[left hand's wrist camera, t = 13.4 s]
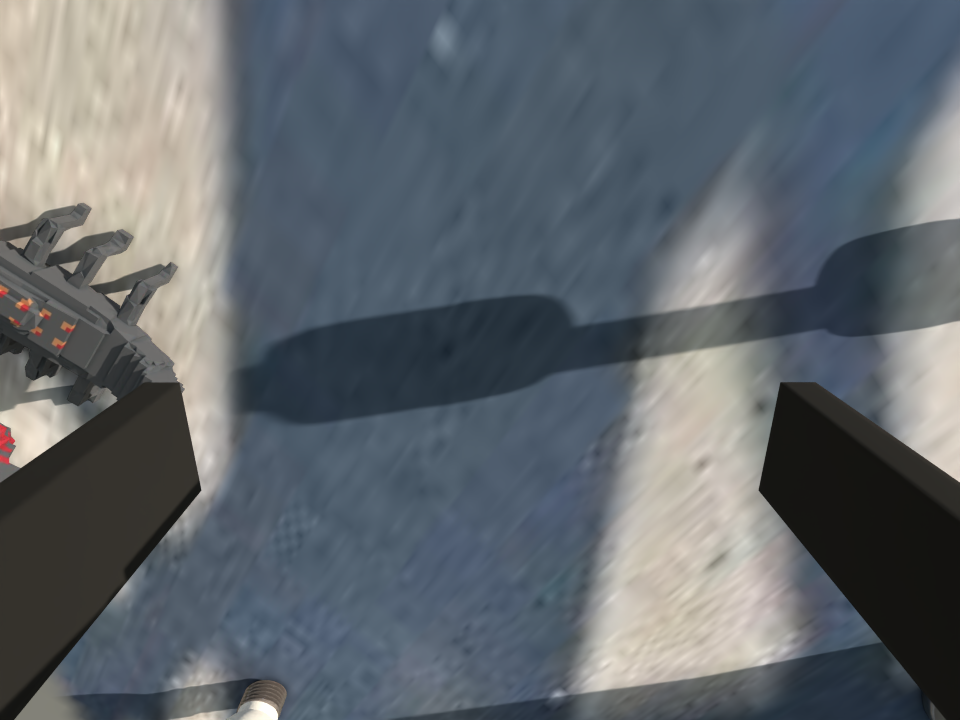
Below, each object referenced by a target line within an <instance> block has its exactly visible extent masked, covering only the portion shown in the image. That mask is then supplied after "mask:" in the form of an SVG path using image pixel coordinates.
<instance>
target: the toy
mask: <svg viewBox="0 0 960 720" xmlns="http://www.w3.org/2000/svg"><path fill="white" fill-rule="evenodd" d="M91 209H92V208H90V207H89V206H87V205H86V204H84V203H80V204H78V205H77V206H76V208H75V209H74V211H73V212H72V213H71V214H70V215H65V216H60V217H55V218H49V219H42V221H41V222H40V224H39V225H38V227H37V228H36V230H35V231H34V233H33V235H32V237H31V238H30V240H29V242H28V243H27V245H26V247H25V249H24V250H23V249H21V248H17V247H15V246H14V245H12V244H11V243H9V242H5V241H0V355H2V354H4V353H6V352H12V353H13V354H18V353H21V352H22V349H23V347H24V346H26V347H27V348H29V349H31V351H30V352H29V360H28V362H27V364H26V366H25V371H26V376H27V377H28V378H30V379H32V380H33V381H34V380H36V379H38V378H40V377H42V376H44V375H47V376H49V377H50V378H51V377H53V376H55V375H57V374H58V372H59V370H60V368H61V366H63V367H65V368H66V369H68V370H70V371H71V372H73V373H75V374H77V375H78V376H79V377H78V378H77V380H76V382H75V384H74V386H73V388H72V390H71V392H70V394H69V396H68V398H67V400H68V401H70V402H72V403H73V404H75V405H77V406H79V405H81V404H82V403H84V402H85V401H86V400H89V401H91V402H92V403H94V402H96V401H97V400H99V399H100V397H101V395H102V394H103V392H104V390H105V388H106V387H107V388H108V389H110V390H111V391H112V394H113V395H114V396H116V397H117V400H120V399H121V398H123V397H124V396H126V395H127V394H128V393H130V392H131V391H133V390H134V389H136V388H137V387H139V386H140V385H141V384H143V383H144V382H178V381H176V380H177V379H178V378H176V377H175V375H176V374H175V373H174V372H173V369H172V367H173V365H174V362H173V361H172V360H171V359H170V358H169V357H168V356H167V355H166V354H165V353H163V352H162V351H161V350H160V349H159V348H158V347H157V346H156V345H155V344H154V343H152V341H151V338H150V337H149V336H148V335H147V334H146V333H145V332H144V331H143V330H142V329H141V328H139V327H138V326H137V325H136V324H137V322H138V320H139V318H140V316H141V314H142V312H143V310H144V308H145V306H146V305H147V303H148V302H149V300H150V299H151V298H152V296H153V295H154V293H155V292H156V290H157V288H159V287H160V286H162V285H164V284H167V283H169V281H170V280H171V278H172V276H173V275H174V273H175V271H176V270H177V268H178V266H176V265H175V264H173V263H172V262H170V263H169V264H168V265H167V266H166V267H165V268H164V269H163V270H162V271H161V272H160V273H159V274H157V275H155V276H153V277H150V278H148V279H145V280H143V279H140V280H138V281H137V282H136V284H135V285H134V287H133V289H132V291H131V293H130V294H129V295H127V296H126V298H125V300H124V302H123V304H122V306H121V308H120V305H118V304H117V303H115V302H114V301H112V300H111V299H110V298H108V297H107V296H105V295H104V294H102V293H97V292H96V291H95V290H93V289H92V288H91V287H90V286H89V285H88V284H89V283H90V282H91V281H92V280H93V278H94V276H95V275H96V273H97V272H98V270H99V269H100V267H101V266H102V264H103V263H104V261H105V260H106V258H107V257H108V256H111V255H116V254H120V253H122V252H124V251H125V250H127V248H128V246H129V244H130V243H131V241H132V239H133V236H132V235H130V234H129V233H127V232H126V231H124V230H123V229H121V230H117V232H116V233H115V234H114V236H113V237H112V238H111V239H110V241H108V242H107V243H105V244H104V245H100V246H97V247H93V248H91V249H89V250H88V251H86V252H85V253H84V255H83V257H82V259H81V261H80V262H79V264H78V266H77V268H76V269H75V271H74V273H73V274H71V273H70V272H68V271H67V270H65V269H64V268H62V267H61V266H59V265H56V266H52V267H51V266H49V265H48V264H46V260H47V258H48V256H49V254H50V252H51V250H52V249H53V248H54V246H55V245H56V244H57V242H58V240H59V239H60V237H61V236H62V234H63V232H64V231H66V230H68V229H70V228H73V227H77V226H81V225H83V224H84V222H85V220H86V218H87V216H88V214H89V212H90V210H91ZM182 386H183V384H181V383H180V387H181V392H183V391H184V388H183V387H182ZM14 442H15V440H14V439H13V438H12V437H11V428H9V427H6V426H4V425H3V424H1V423H0V482H2V481H3V480H5V479H6V478H8V477H9V476H10V475H12V474H13V473H15V472H16V471H18V470H19V469H20V468H19V467H17V466H15V465H12V464H10V463H9V457H10V455H11V454H12V452H13V450H14V449H15V447H16V446H15V445H13V443H14Z"/></svg>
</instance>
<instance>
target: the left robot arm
mask: <svg viewBox="0 0 960 720" xmlns="http://www.w3.org/2000/svg"><path fill="white" fill-rule="evenodd" d="M200 491H201V486H200V481H199V476H198V471H197V466H196V461H195V456H194V451H193V446H192V442H191V437H190V432H189V427H188V422H187V417H186V412H185V407H184V402H183V397H182V392H181V387H180V382H144V383H143V384H141V385H140V386H139V387H137V388H136V389H134V390H133V391H131V392H130V393H128V394H127V395H126V396H124V397H123V398H121V399H120V400H118V401H117V402H115V403H114V404H113V405H111V406H110V407H108V408H107V409H105V410H104V411H103V412H101V413H100V414H98V415H97V416H95V417H94V418H92V419H91V420H90V421H88V422H87V423H85V424H84V425H82V426H81V427H79V428H78V429H77V430H75V431H74V432H72V433H71V434H69V435H68V436H67V437H65V438H64V439H62V440H61V441H59V442H58V443H56V444H55V445H54V446H52V447H51V448H49V449H48V450H46V451H45V452H44V453H42V454H41V455H39V456H38V457H36V458H35V459H33V460H32V461H31V462H29V463H28V464H26V465H25V466H23V467H22V468H20V469H19V470H18V471H16V472H15V473H13V474H12V475H10V476H9V477H8V478H6V479H5V480H3V481H2V482H0V720H14V719H15V718H16V717H17V715H18V714H19V713H20V712H21V711H22V709H23V708H24V707H25V706H26V704H27V703H28V702H29V701H30V700H31V698H32V697H33V696H34V695H35V693H36V692H37V691H38V690H39V689H40V687H41V686H42V685H43V684H44V682H45V681H46V680H47V679H48V678H49V676H50V675H51V674H52V673H53V671H54V670H55V669H56V668H57V667H58V665H59V664H60V663H61V662H62V660H63V659H64V658H65V657H66V656H67V654H68V653H69V652H70V651H71V649H72V648H73V647H74V646H75V645H76V643H77V642H78V641H79V640H80V638H81V637H82V636H83V635H84V633H85V632H86V631H87V630H88V629H89V627H90V626H91V625H92V624H93V622H94V621H95V620H96V619H97V618H98V616H99V615H100V614H101V613H102V611H103V610H104V609H105V608H106V607H107V605H108V604H109V603H110V602H111V600H112V599H113V598H114V597H115V596H116V594H117V593H118V592H119V591H120V589H121V588H122V587H123V586H124V585H125V583H126V582H127V581H128V580H129V578H130V577H131V576H132V575H133V574H134V572H135V571H136V570H137V569H138V567H139V566H140V565H141V564H142V562H143V561H144V560H145V559H146V558H147V556H148V555H149V554H150V553H151V551H152V550H153V549H154V548H155V547H156V545H157V544H158V543H159V542H160V540H161V539H162V538H163V537H164V536H165V534H166V533H167V532H168V531H169V529H170V528H171V527H172V526H173V525H174V523H175V522H176V521H177V520H178V518H179V517H180V516H181V515H182V514H183V512H184V511H185V510H186V509H187V507H188V506H189V505H190V504H191V502H192V501H193V500H194V499H195V498H196V496H197V495H198V494H199V493H200ZM759 491H760V493H761V494H762V495H763V496H764V498H765V499H766V500H767V501H768V502H769V504H770V505H771V506H772V507H773V509H774V510H775V511H776V512H777V514H778V515H779V516H780V517H781V518H782V520H783V521H784V522H785V523H786V525H787V526H788V527H789V528H790V529H791V531H792V532H793V533H794V534H795V536H796V537H797V538H798V539H799V540H800V542H801V543H802V544H803V545H804V547H805V548H806V549H807V550H808V551H809V553H810V554H811V555H812V556H813V558H814V559H815V560H816V561H817V562H818V564H819V565H820V566H821V567H822V569H823V570H824V571H825V572H826V574H827V575H828V576H829V577H830V578H831V580H832V581H833V582H834V583H835V585H836V586H837V587H838V588H839V589H840V591H841V592H842V593H843V594H844V596H845V597H846V598H847V599H848V600H849V602H850V603H851V604H852V605H853V607H854V608H855V609H856V610H857V611H858V613H859V614H860V615H861V616H862V618H863V619H864V620H865V621H866V622H867V624H868V625H869V626H870V627H871V629H872V630H873V631H874V632H875V633H876V635H877V636H878V637H879V638H880V640H881V641H882V642H883V643H884V645H885V646H886V647H887V648H888V649H889V651H890V652H891V653H892V654H893V656H894V657H895V658H896V659H897V660H898V662H899V663H900V664H901V665H902V667H903V668H904V669H905V670H906V671H907V673H908V674H909V675H910V676H911V678H912V679H913V680H914V681H915V682H916V684H917V685H918V686H919V687H920V689H921V690H922V691H923V692H924V693H925V695H926V696H927V697H928V698H929V700H930V701H931V702H932V703H933V705H934V706H935V707H936V708H937V709H938V711H939V712H940V713H941V714H942V716H943V717H944V718H945V719H946V720H960V482H958V481H957V480H955V479H954V478H952V477H951V476H950V475H948V474H947V473H945V472H944V471H942V470H941V469H940V468H938V467H937V466H935V465H934V464H932V463H931V462H929V461H928V460H927V459H925V458H924V457H922V456H921V455H919V454H918V453H916V452H915V451H914V450H912V449H911V448H909V447H908V446H906V445H905V444H904V443H902V442H901V441H899V440H898V439H896V438H895V437H893V436H892V435H891V434H889V433H888V432H886V431H885V430H883V429H882V428H881V427H879V426H878V425H876V424H875V423H873V422H872V421H870V420H869V419H868V418H866V417H865V416H863V415H862V414H860V413H859V412H857V411H856V410H855V409H853V408H852V407H850V406H849V405H847V404H846V403H845V402H843V401H842V400H840V399H839V398H837V397H836V396H834V395H833V394H832V393H830V392H829V391H827V390H826V389H824V388H823V387H821V386H820V385H819V384H817V383H816V382H780V387H779V392H778V397H777V402H776V407H775V412H774V417H773V422H772V427H771V432H770V437H769V442H768V446H767V451H766V456H765V461H764V466H763V471H762V476H761V481H760V486H759Z"/></svg>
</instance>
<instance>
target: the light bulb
mask: <svg viewBox="0 0 960 720" xmlns="http://www.w3.org/2000/svg"><path fill="white" fill-rule="evenodd" d="M286 695H287V693H286V690H285V688H284V687H283V686H282V685H281V684H279V683H277V682H274V681H270V680H262V681H257V682H254V683H252V684H251V685H249V686H248V687H247V689H246V690H245V693H244V695H243V697H242V700H241V702H240V704H239V707H238V709H237V713H236V714H234V715H232V716H231V717H229V718H228V719H226V720H277V719H278V717H279V716H280V713H281V709H282V707H283V704H284V701H285V698H286Z"/></svg>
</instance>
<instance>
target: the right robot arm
mask: <svg viewBox="0 0 960 720" xmlns="http://www.w3.org/2000/svg"><path fill="white" fill-rule="evenodd" d="M922 699H923V706H924V709H925V712H926V714H927V715H928V717H929V718H930V720H946V719H945V718H944V717H943V716H942V714H941V713H940V712H939V711H938V709H937V708H936V707H935V706H934V705H933V703H932V702H931V701H930V700H929V698H928V697H927V696H926V695H925V693H924V692H923V696H922Z"/></svg>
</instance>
